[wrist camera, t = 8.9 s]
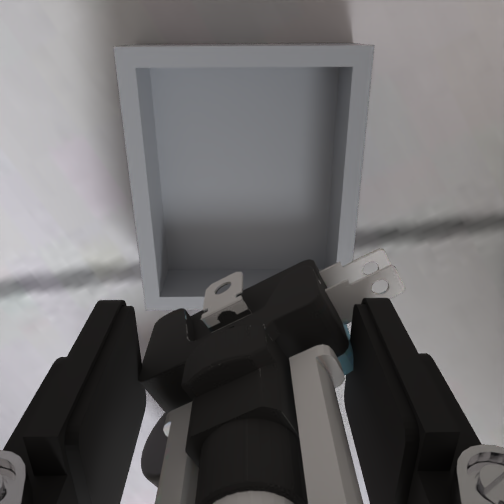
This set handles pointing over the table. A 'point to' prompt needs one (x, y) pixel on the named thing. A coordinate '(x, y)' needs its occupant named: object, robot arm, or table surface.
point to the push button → (261, 387)
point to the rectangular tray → (241, 160)
